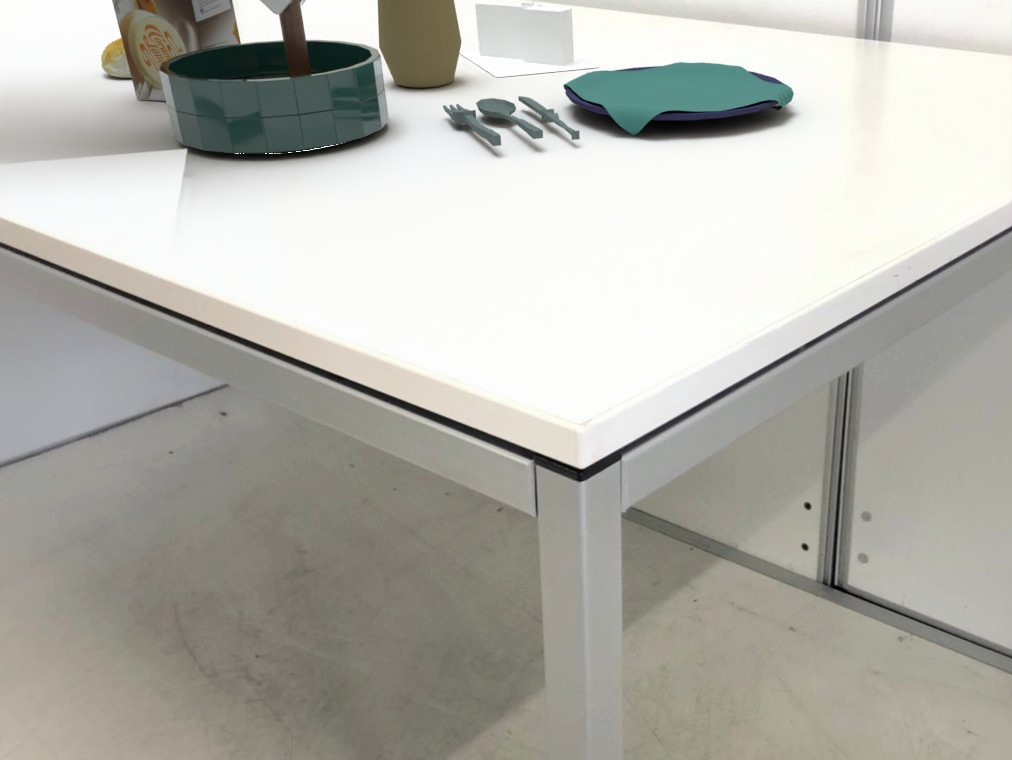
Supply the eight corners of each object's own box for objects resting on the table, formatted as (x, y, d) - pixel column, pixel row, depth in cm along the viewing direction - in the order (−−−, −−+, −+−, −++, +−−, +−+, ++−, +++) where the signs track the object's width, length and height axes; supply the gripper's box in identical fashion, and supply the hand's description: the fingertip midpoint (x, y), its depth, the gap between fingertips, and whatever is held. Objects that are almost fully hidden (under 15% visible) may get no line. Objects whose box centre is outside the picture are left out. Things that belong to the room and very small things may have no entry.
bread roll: (199, 61, 122) (191, 22, 120) (174, 79, 114) (165, 37, 112) (123, 63, 122) (114, 24, 120) (92, 80, 114) (82, 39, 112)
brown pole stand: (276, 126, 92) (237, -90, 84) (274, 112, 96) (237, -95, 88) (340, 121, 93) (308, -93, 85) (336, 107, 98) (305, -97, 89)
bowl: (171, 169, 85) (152, 88, 82) (181, 118, 100) (166, 47, 97) (399, 149, 90) (389, 71, 87) (378, 102, 104) (369, 34, 101)
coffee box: (254, 91, 109) (219, -93, 101) (214, 105, 104) (174, -87, 95) (174, 86, 111) (134, -94, 103) (132, 100, 106) (86, -89, 98)
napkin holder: (456, 52, 125) (451, -3, 122) (551, 44, 128) (549, -10, 126) (496, 77, 113) (492, 17, 110) (600, 67, 117) (598, 8, 114)
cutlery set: (829, 122, 95) (832, 94, 94) (493, 163, 86) (490, 133, 84) (725, 78, 111) (726, 54, 110) (431, 109, 101) (428, 82, 100)
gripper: (100, -162, 76) (263, -7, 80) (231, -170, 93) (360, -42, 97) (58, -89, 79) (218, 58, 83) (192, -109, 96) (319, 13, 100)
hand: (295, 4), depth 90 cm, fingers closed on brown pole stand
